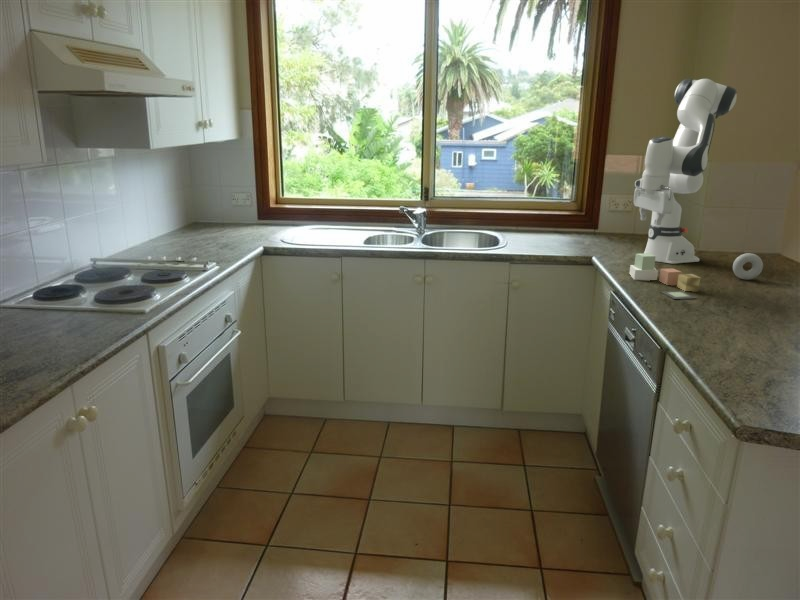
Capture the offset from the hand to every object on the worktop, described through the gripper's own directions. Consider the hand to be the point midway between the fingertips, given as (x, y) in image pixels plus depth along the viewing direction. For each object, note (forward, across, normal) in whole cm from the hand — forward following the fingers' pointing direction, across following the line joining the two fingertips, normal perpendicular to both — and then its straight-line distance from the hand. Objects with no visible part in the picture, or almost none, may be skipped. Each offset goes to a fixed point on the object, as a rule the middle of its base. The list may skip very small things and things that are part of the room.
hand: (650, 222), depth 219 cm
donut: (+21, -7, -37) cm, 43 cm away
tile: (+20, -24, +1) cm, 32 cm away
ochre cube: (+21, -17, -7) cm, 28 cm away
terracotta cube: (+21, -9, -5) cm, 23 cm away
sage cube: (+17, 0, 0) cm, 17 cm away
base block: (+21, 0, 0) cm, 21 cm away
